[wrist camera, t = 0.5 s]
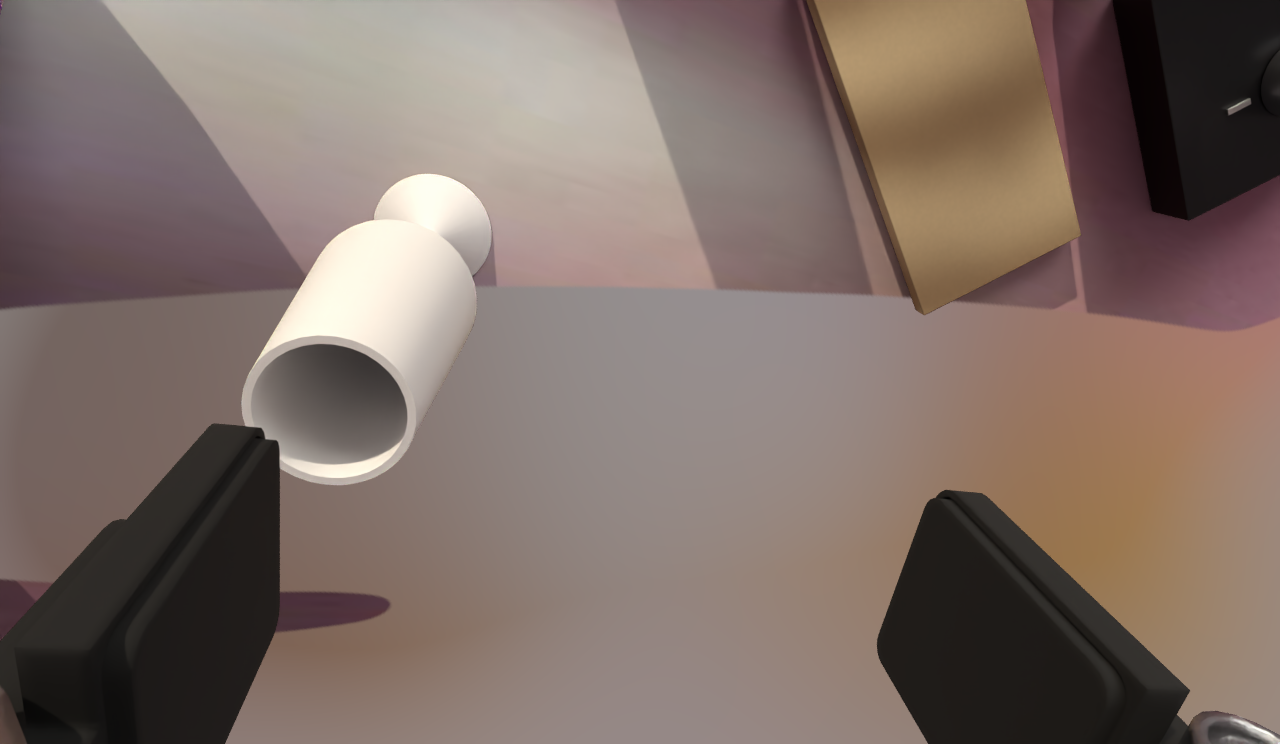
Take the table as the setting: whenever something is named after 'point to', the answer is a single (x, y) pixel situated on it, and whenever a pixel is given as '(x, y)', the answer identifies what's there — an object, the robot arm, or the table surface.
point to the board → (951, 135)
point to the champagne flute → (372, 334)
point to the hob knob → (1272, 86)
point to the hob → (1201, 97)
